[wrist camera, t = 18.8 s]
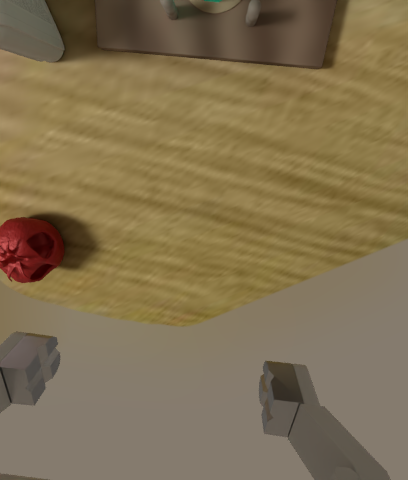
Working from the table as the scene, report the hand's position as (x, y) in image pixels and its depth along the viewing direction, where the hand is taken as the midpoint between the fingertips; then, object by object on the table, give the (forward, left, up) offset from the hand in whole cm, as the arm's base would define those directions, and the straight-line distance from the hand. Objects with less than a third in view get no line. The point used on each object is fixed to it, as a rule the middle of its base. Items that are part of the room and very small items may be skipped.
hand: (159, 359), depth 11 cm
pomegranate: (+26, +12, -31) cm, 42 cm away
